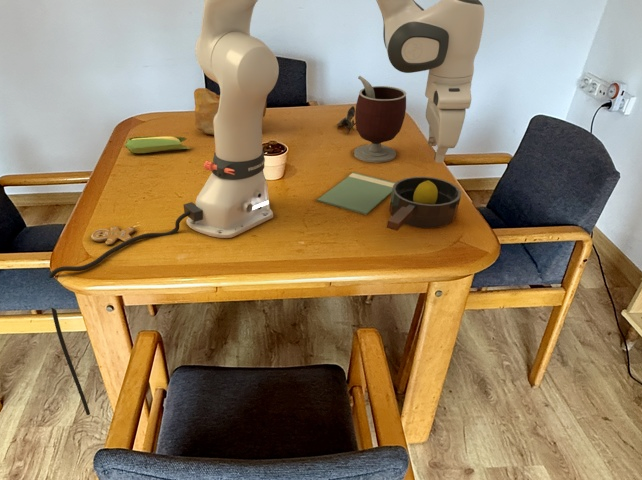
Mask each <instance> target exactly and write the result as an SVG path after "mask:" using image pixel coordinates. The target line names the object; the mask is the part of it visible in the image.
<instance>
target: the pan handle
mask: <svg viewBox="0 0 642 480" xmlns="http://www.w3.org/2000/svg"><path fill="white" fill-rule="evenodd" d="M415 209H416V205H413V204H409V205H408V206H407V207H401V208H400V209H399V210H398V211H397V212H396V213H395V214H394V215H393V216H391V217H390V218H388V219H387V222H386V227H385V228H386V229H389V230H393V231H395V232H398V231H399V230H400V229H401V228H402V227H403V226H404V225H406V224H405V223H406V222H407V221H408V220H409V219H410V218H411V217H412V213H413V211H414V210H415Z"/></svg>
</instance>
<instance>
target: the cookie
mask: <svg viewBox="0 0 642 480" xmlns="http://www.w3.org/2000/svg"><path fill="white" fill-rule="evenodd" d="M135 232H136V228H135V227H132V226H130V227H127V228H124V229H122V230H121V229H120V228H119V227H118V226H115V225H114V226H111V227H110V229H106V228H100V229H97V230H94V232H92V233H91V240H92V241H93V242H96V243H102V242H105V244H106V245H107V246H112V245H113V244H115V243H116V242H117V241H118V240H121V241H122V242H125V241H127V240H129V239H131V238H133V236H131V235H132V234H134V233H135Z"/></svg>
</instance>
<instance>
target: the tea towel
mask: <svg viewBox="0 0 642 480" xmlns="http://www.w3.org/2000/svg"><path fill="white" fill-rule="evenodd" d="M395 183H396V182H395V181H391V180H387V179H383V178H378V177H374V176H370V175H367V174H362V173H359V172H352V173H350V174H349V175H348V176H347V177H346V178H344V179H343V180H341V181H340V182H339V183H337V184H336V185H335V186H333V187H332V188H331V189H329V190H328V191H327V192H325V193H323V195H321V196H320V197H319V198H318V199H317V200H316V201H317V202H319V203H322V204H325V205H330V206H333V207H337V208H340V209H343V210H347V211H351V212H354V213H358V214H361V215H365V216H367V215H369V214H370V213H371V212H372V211H374V209H375V208H376V207H378V206H379V205H380V204H381V203H382V202H383V201H384V200H386V199H387V198H388V197H389V196H391V195H392V189H393V185H394V184H395Z"/></svg>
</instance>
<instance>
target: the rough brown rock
mask: <svg viewBox="0 0 642 480" xmlns="http://www.w3.org/2000/svg"><path fill="white" fill-rule="evenodd" d="M193 97H194V118H195V119H194V124H195V127H196V128H197V130H198V131H201V132H203V134H206V135H213V136H214V124H213V120H214V117H215V115H216V114H217V112H218V109H219V103H220V94H217V93H215V92H213V91H211V90H210V89H209V88H205V87H197V88H196V89H194V91H193ZM267 103H268V102H267V101H266V102H265V107H264V111H263V118H265V116H266V112H267V105H268V104H267Z"/></svg>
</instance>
